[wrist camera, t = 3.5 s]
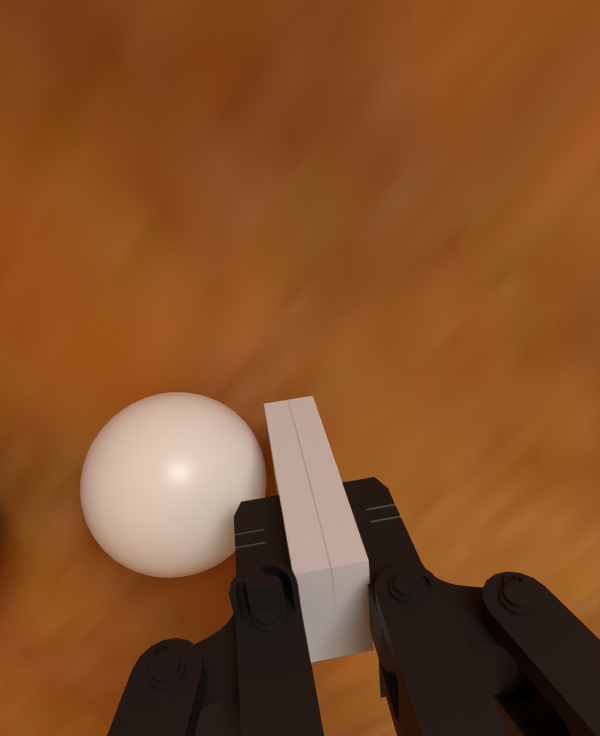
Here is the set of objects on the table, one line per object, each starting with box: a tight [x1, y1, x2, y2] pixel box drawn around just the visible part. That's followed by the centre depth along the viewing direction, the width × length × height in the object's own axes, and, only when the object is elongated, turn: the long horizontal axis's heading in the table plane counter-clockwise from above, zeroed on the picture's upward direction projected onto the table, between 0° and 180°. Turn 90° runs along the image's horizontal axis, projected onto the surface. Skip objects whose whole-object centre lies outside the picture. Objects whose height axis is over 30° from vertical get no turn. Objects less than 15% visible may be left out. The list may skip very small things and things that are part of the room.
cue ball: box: [80, 392, 267, 578], centre depth 16 cm, size 6×6×6 cm
